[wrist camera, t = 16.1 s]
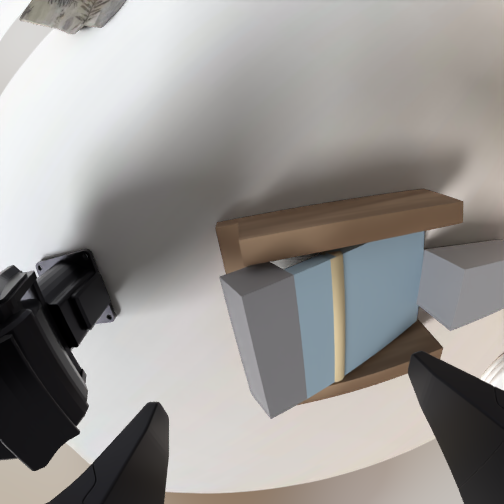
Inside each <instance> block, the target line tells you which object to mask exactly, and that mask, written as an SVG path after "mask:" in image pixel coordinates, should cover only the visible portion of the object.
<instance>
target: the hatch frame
mask: <svg viewBox="0 0 504 504" xmlns="http://www.w3.org/2000/svg"><path fill="white" fill-rule="evenodd" d="M459 223H463V201H461V200H458V199H455V198H452V197H449V196H446V195H443V194H439V193H436V192H433V191H430V190H426V189H417V190H410V191H402V192H395V193H387V194H380V195H373V196H367V197H360V198H353V199H347V200H340V201H334V202H328V203H322V204H315V205H309V206H303V207H298V208H292V209H286V210H280V211H275V212H269V213H264V214H258V215H253V216H248V217H242V218H237V219H232V220H227V221H222V222H217V224H216V228H215V229H216V233H217V237H218V242H219V246H220V250H221V255H222V259H223V263H224V268H225V272H226V274H228V273H231V272H234V271H237V270H239V269H242V268H245V267H247V266H249V265H254V264H260V263H265V262H270V261H276V260H281V259H286V258H291V257H297V256H302V255H307V254H312V253H317V252H322V251H327V250H333V249H338V248H343V247H348V246H353V245H358V244H363V243H368V242H373V241H378V240H383V239H388V238H392V237H397V236H402V235H407V234H412V233H417V232H421V231H426V230H431V229H436V228H441V227H445V226H450V225H455V224H459ZM442 350H443V347H442V346H441V345H440V343H439V342H438V341H437V340H436V339H435V338H434V337H433V335H432V334H431V333H430V332H429V331H428V330H427V329H426V328H425V327H424V325H423V324H422V323H421V322H420V321H419V320H418V319H417V321H416V322H415V323H413V324H412V325H411V326H410V327H409V328H408V329H406V330H405V331H404V332H403V333H401V334H400V335H399V336H398V337H397V338H395V339H394V340H393V341H391V342H390V343H389V344H388V345H386V346H385V347H384V348H382V349H381V350H380V351H378V352H377V353H376V354H374V355H373V356H372V357H370V358H369V359H368V360H366V361H365V362H363V363H362V364H361V365H359V366H358V367H356V368H355V369H353V370H352V371H351V372H349V373H348V374H346V375H345V376H344V378H343V379H342V380H341V381H338V382H334V383H332V384H331V385H329V386H328V387H326V388H324V389H323V390H321V391H320V392H318V393H316V394H315V395H313V396H311V397H310V398H308V399H306V400H305V401H303V402H301V403H299V404H298V405H300V404H305V403H309V402H314V401H318V400H322V399H326V398H330V397H334V396H338V395H342V394H345V393H349V392H353V391H356V390H359V389H363V388H366V387H369V386H372V385H376V384H379V383H382V382H385V381H388V380H390V379H393V378H396V377H399V376H402V375H404V374H407V373H408V367H409V362H410V358H411V355H412V354H413V353H415V352H418V351H424V352H426V353H428V354H430V355H432V356H434V357H436V358H438V359H440V357H441V354H442Z"/></svg>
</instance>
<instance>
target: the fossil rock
mask: <svg viewBox="0 0 504 504" xmlns="http://www.w3.org/2000/svg"><path fill="white" fill-rule="evenodd" d="M125 1H126V0H32V1H31V2H30V4H29V5H28V7H27V8H26V9H25V11H24V12H23V14H22V15H21V17H20V21H24V22H28V23H33V24H36V25H41V26H46V27H51V28H57V29H59V30H61V31H64V32H66V33H68V34H75V33H76V32H78V31H79V30H80V29H81V28H83V27H84V26H88V27H98V28H102V27H103V26H104V25H105V24H106V23H107V21H108V20H109V19H110V18H111V17H112V16H113V15H114V14H115V13H116V12H117V11H118V10H119V9H120V8H121V6H122V5H123V4H124V2H125Z"/></svg>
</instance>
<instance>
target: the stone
mask: <svg viewBox="0 0 504 504" xmlns="http://www.w3.org/2000/svg"><path fill="white" fill-rule="evenodd" d="M416 304H417V305H418V306H420V307H421V308H422V309H424V310H425V311H426V312H427V313H429V314H430V315H431V316H432V317H434V318H435V319H436V320H437V321H439V322H440V323H441V324H442V325H444V326H445V327H446V328H447V329H448V330H450V331H451V330H454V329H457V328H459V327H462V326H464V325H467V324H469V323H472V322H474V321H477V320H479V319H481V318H484V317H486V316H488V315H490V314H493V313H495V312H497V311H499V310H501V309H504V241H503V240H501V239H498V240H491V241H483V242H476V243H469V244H462V245H454V246H447V247H439V248H431V249H424V256H423V264H422V272H421V279H420V285H419V291H418V297H417V302H416Z"/></svg>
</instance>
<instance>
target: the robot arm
mask: <svg viewBox="0 0 504 504" xmlns="http://www.w3.org/2000/svg"><path fill="white" fill-rule="evenodd" d="M85 254H86V255H87V256H88V258H86V257H85ZM40 266H41V267H42V268H41V267H40ZM36 269H37V272H38V275H39V277H38V278H37V277H36V274H35V272H34V271H30V272H24V273H22V271H20V270H19V269H18V268H17V267H15V266H14V265H12V266H9V267H7V268H6V269H4V270H3V271H2V272H0V460H8V459H19V460H21V461H22V462H23V463H24V464H25V465H26V466H27V467H28V468H30V469H31V470H32V471H36V470H39V469H41V468H43V467H45V466H46V465H47V464H48V463H49V461H50V460H51V458H52V457H53V456H54V454H55V453H56V451H57V450H58V449H59V448H60V447H61V446H62V445H63V444H65V443H66V442H67V441H68V440H70V439H72V438H73V437H75V436H77V435H79V434H80V431H79V429H78V428H77V427H76V426H77V425H78V424H79V423H80V421H81V420H82V419H83V417H84V416H85V414H86V412H87V409H88V407H89V405H88V403H87V394H88V390H87V387H86V384H85V383H86V373H85V372H84V370H83V369H81V367H80V366H79V364H78V363H77V361H76V359H75V358H74V356H73V354H72V352H71V351H72V349H73V348H74V347H78V346H79V344H80V343H81V341H82V340H83V338H84V337H85V335H86V334H87V333H88V331H89V330H91V329H92V328H93V327H94V325H95V324H98V323H107V322H113V321H114V320H115V318H116V314H115V312H114V309H113V307H112V305H111V302H110V301H111V300H110V298H109V295H108V293H107V290H106V288H105V285H104V283H103V280H102V277H101V275H100V274H99V272H98V269H97V266H96V263H95V260H94V258H93V255H92V252H91V251H90V250H88V249H84V250H80V251H76V252H72V253H68V254H65V255H61V256H57V257H53V258H50V259H46V260H42V261H40V262H38V263H37V264H36ZM109 315H111V317H110V316H109ZM408 375H409V378H410V380H411V383H412V385H413V388H414V391H415V393H416V396H417V399H418V401H419V404H420V406H421V409H422V411H423V413H424V415H425V417H426V419H427V421H428V423H429V425H430V427H431V429H432V431H433V433H434V435H435V437H436V439H437V441H438V443H439V445H440V447H441V450H442V452H443V454H444V456H445V459H446V461H447V463H448V465H449V467H450V470H451V472H452V475H453V477H454V479H455V482H456V484H457V486H458V488H459V492H460V494H461V497H462V499H463V502H464V504H504V390H501V389H499V388H497V387H494V386H493V385H491V384H489V383H487V382H485V381H483V380H481V379H479V378H477V377H475V376H473V375H471V374H468V373H466V372H464V371H462V370H460V369H458V368H456V367H454V366H452V365H450V364H448V363H446V362H444V361H442V360H440V359H438V358H436V357H434V356H432V355H430V354H428V353H426V352H424V351H418V352H415V353H413V354H412V355H411V358H410V362H409V367H408ZM168 459H169V418H168V415H167V413H166V412H165V410H164V408H163V407H162V405H161V404H160V403H159V402H148V403H147V404H146V405H145V406H144V407H143V408H142V410H141V411H140V412H139V413H138V414H137V415H136V416H135V417H134V418H133V420H132V421H131V422H130V423H129V424H128V425H127V426H126V427H125V428H124V430H123V431H122V432H121V433H120V434H119V435H118V436H117V437H116V438H115V439H114V440H113V442H112V443H111V444H110V445H109V446H108V447H107V448H106V449H105V450H104V451H103V452H102V454H101V455H100V456H99V457H98V458H97V459H96V460H95V461H94V462H93V464H91V465H90V466H89V468H88V469H87V470H86V471H85V472H84V473H83V474H82V475H81V476H80V477H79V478H78V479H76V480H75V481H74V482H73V483H72V484H71V485H70V486H69V487H67V488H66V489H65V490H64V491H62V492H61V493H60V494H59V495H57V496H56V497H55V498H54V499H52V500H51V501H50V502H48V503H46V504H164V498H165V488H166V478H167V468H168Z"/></svg>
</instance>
